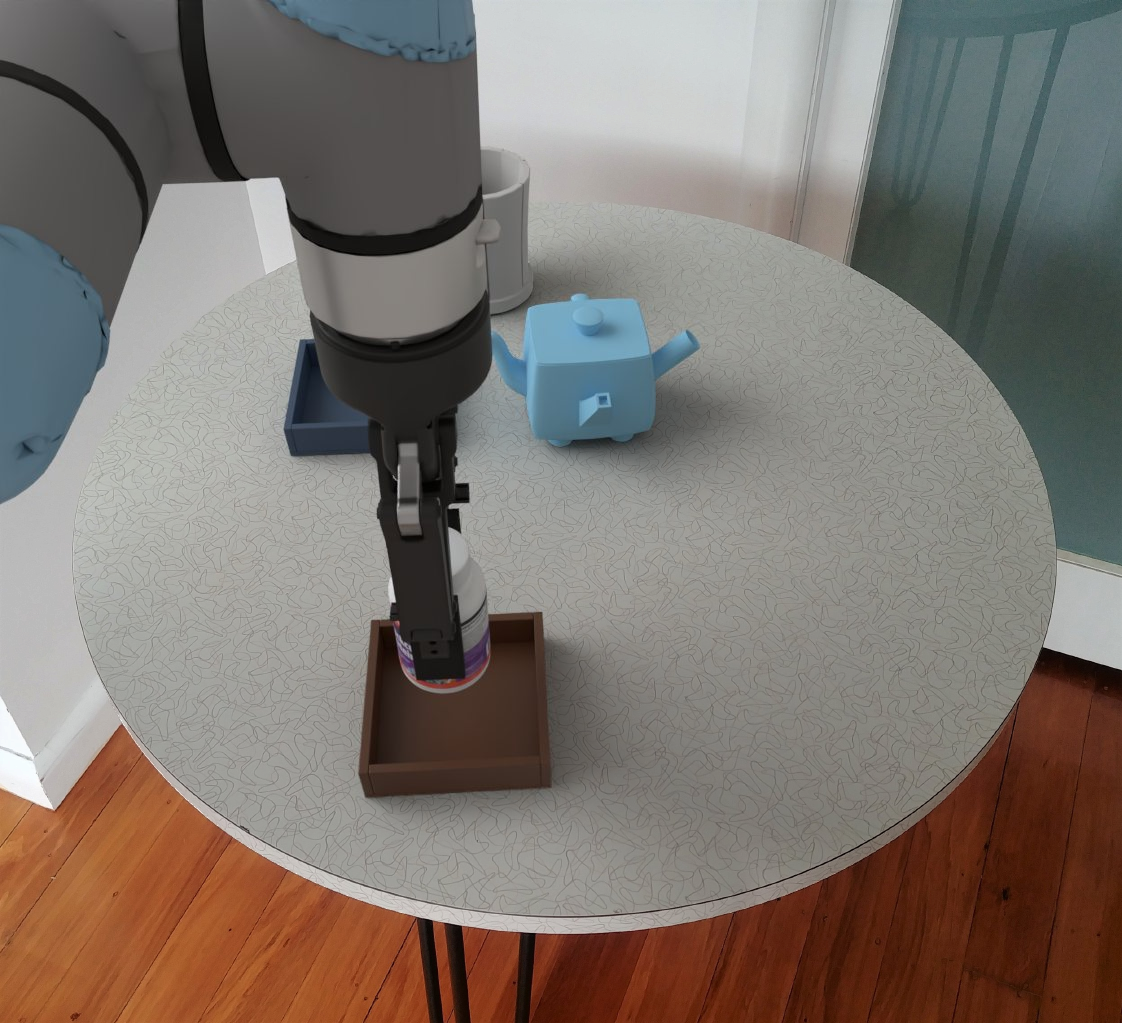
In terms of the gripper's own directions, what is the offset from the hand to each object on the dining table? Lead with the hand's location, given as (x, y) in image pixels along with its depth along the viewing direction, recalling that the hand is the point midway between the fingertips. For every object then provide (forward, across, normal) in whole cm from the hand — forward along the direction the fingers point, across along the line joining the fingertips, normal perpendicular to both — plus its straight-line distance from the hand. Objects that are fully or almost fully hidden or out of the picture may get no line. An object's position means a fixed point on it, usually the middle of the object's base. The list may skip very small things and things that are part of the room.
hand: (442, 629), depth 61 cm
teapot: (+9, +27, -10) cm, 30 cm away
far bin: (+9, +30, +8) cm, 32 cm away
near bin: (+9, 0, 0) cm, 9 cm away
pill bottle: (+3, 0, 0) cm, 3 cm away
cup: (+9, +45, -2) cm, 46 cm away
